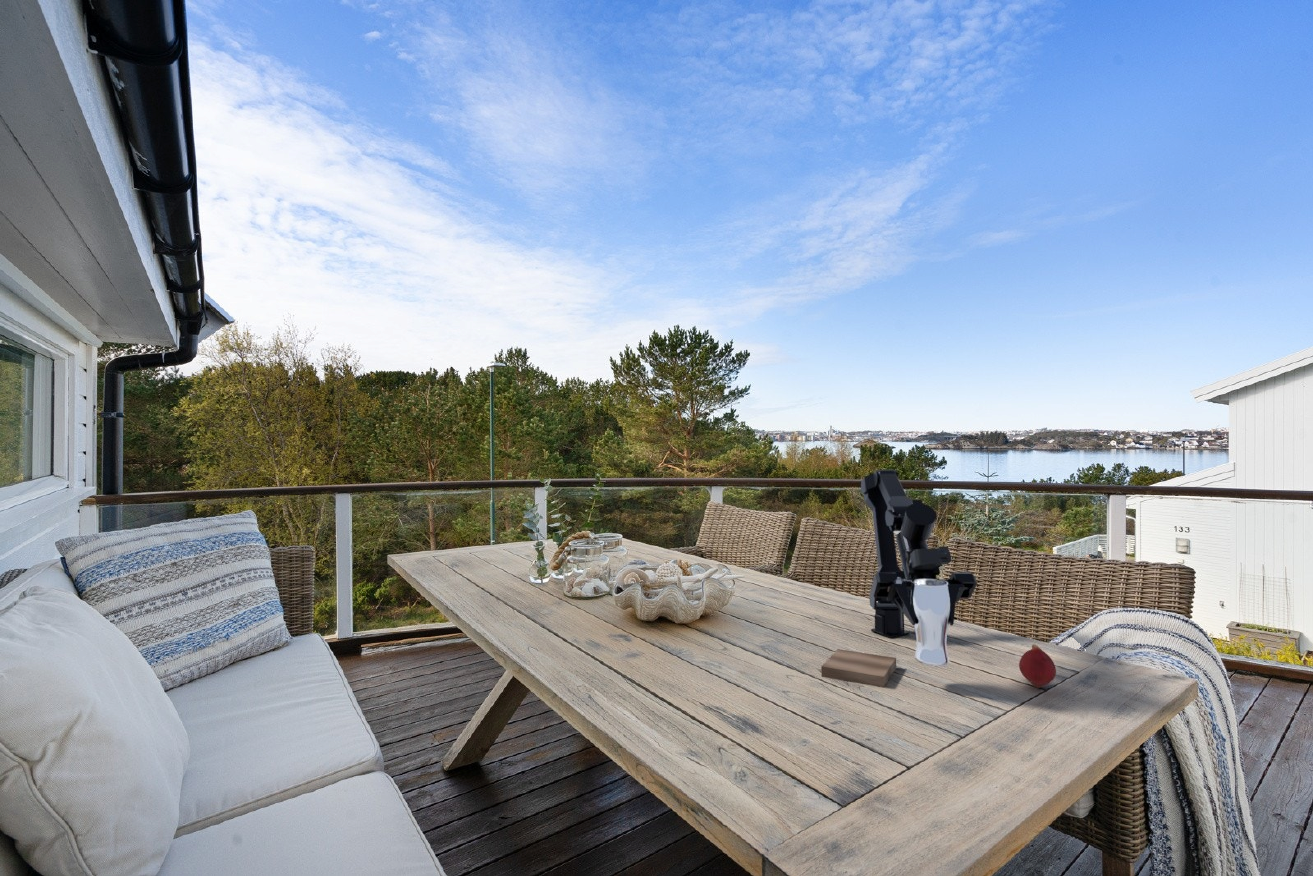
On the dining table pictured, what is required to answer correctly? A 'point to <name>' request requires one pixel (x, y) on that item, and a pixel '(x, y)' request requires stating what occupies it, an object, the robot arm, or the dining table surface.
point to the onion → (1037, 667)
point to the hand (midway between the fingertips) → (933, 624)
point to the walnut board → (859, 667)
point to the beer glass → (931, 619)
